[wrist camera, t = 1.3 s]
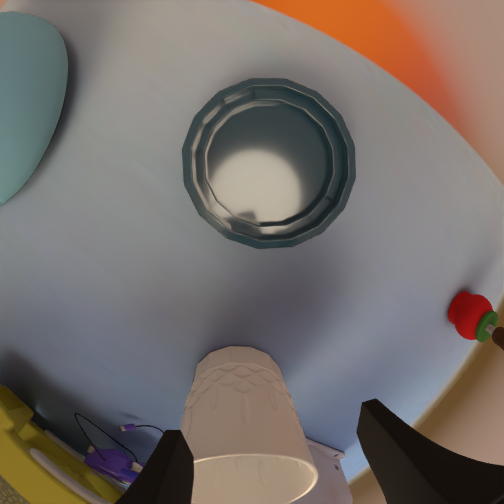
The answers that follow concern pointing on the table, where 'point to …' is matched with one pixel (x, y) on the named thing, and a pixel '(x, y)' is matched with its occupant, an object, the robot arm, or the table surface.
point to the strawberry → (475, 318)
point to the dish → (269, 163)
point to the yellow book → (46, 462)
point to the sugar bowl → (28, 95)
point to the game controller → (113, 460)
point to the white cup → (245, 432)
